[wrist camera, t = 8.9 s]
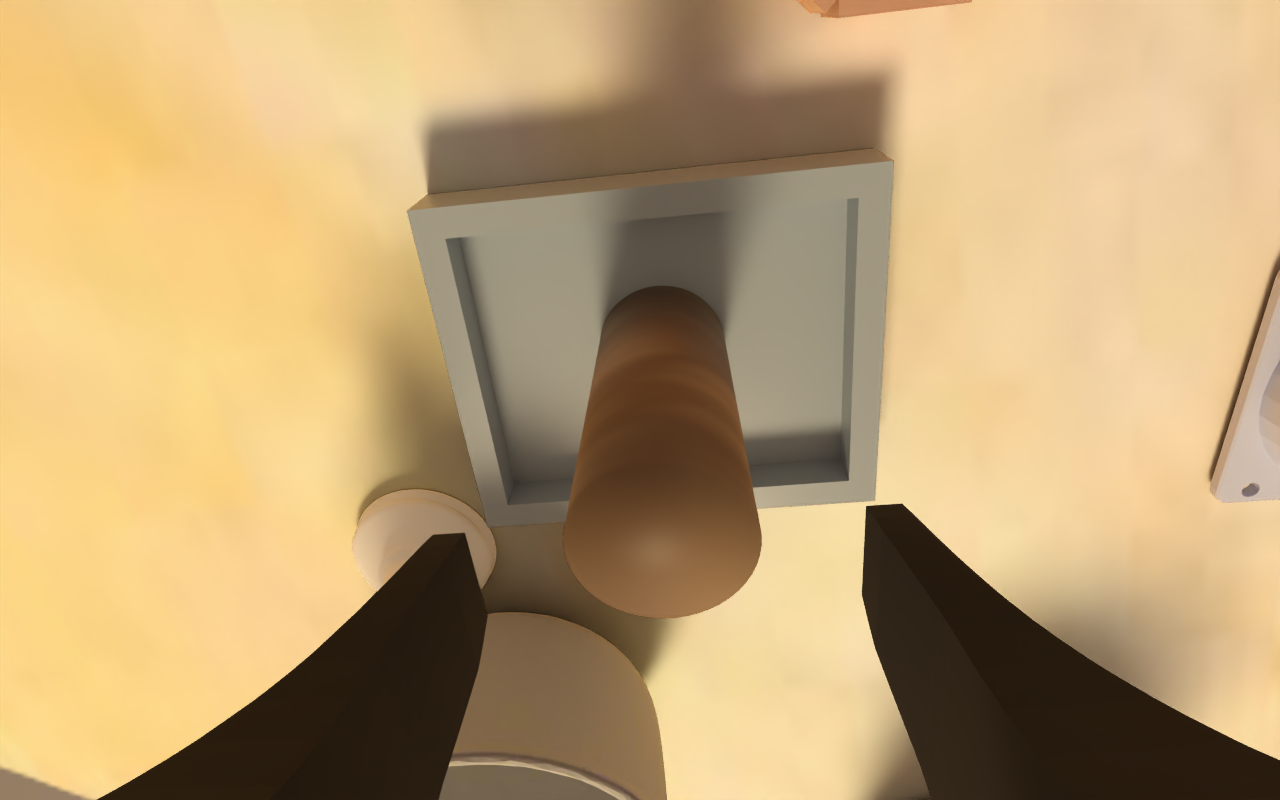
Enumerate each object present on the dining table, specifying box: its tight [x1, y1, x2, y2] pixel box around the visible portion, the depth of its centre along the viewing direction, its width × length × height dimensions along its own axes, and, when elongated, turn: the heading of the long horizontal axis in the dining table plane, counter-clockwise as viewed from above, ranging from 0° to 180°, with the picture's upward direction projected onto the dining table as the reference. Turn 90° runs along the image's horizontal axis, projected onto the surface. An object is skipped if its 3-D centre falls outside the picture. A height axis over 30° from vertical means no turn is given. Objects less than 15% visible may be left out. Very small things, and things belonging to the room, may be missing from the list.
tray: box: [407, 148, 894, 527], centre depth 21 cm, size 12×10×2 cm
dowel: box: [563, 286, 762, 618], centre depth 17 cm, size 4×4×9 cm
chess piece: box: [352, 489, 496, 591], centre depth 21 cm, size 5×5×10 cm
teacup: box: [439, 612, 667, 800], centre depth 26 cm, size 14×11×8 cm
